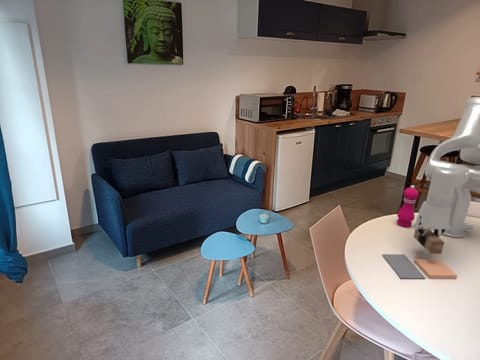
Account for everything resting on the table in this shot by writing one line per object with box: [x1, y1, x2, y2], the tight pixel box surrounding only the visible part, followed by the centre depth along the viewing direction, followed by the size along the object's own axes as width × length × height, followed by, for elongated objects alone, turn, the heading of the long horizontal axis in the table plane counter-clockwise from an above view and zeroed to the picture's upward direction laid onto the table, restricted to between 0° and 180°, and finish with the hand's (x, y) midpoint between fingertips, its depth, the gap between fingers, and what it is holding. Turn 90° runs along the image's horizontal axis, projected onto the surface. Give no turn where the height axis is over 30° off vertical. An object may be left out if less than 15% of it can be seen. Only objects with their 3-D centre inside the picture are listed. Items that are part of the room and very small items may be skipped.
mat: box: [381, 253, 427, 280], centre depth 124 cm, size 9×15×1 cm, turn 2°
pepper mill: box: [396, 184, 419, 228], centre depth 153 cm, size 7×7×20 cm
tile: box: [413, 258, 458, 280], centre depth 122 cm, size 2×10×10 cm
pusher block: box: [413, 225, 445, 255], centre depth 127 cm, size 12×4×5 cm, turn 2°
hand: (427, 243), depth 128 cm, fingers closed on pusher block, 4 cm apart
